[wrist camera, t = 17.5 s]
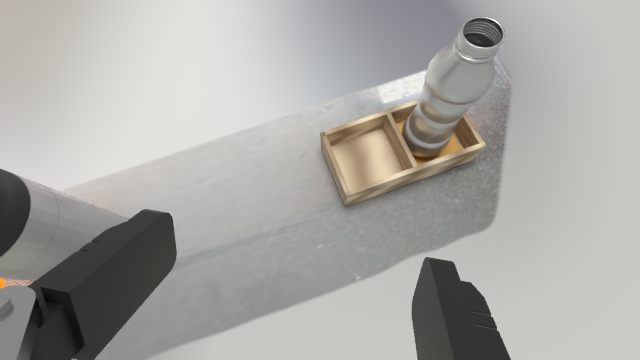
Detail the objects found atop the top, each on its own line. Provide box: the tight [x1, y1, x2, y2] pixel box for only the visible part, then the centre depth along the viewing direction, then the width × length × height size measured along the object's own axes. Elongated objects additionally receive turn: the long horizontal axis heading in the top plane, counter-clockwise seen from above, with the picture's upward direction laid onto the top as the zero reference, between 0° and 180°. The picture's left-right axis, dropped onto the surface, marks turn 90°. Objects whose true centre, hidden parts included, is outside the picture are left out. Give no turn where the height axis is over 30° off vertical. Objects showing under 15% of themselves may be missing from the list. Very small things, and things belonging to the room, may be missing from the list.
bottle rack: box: [320, 99, 486, 207], centre depth 44 cm, size 20×10×5 cm, turn 110°
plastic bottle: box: [401, 16, 505, 157], centre depth 36 cm, size 6×7×20 cm
